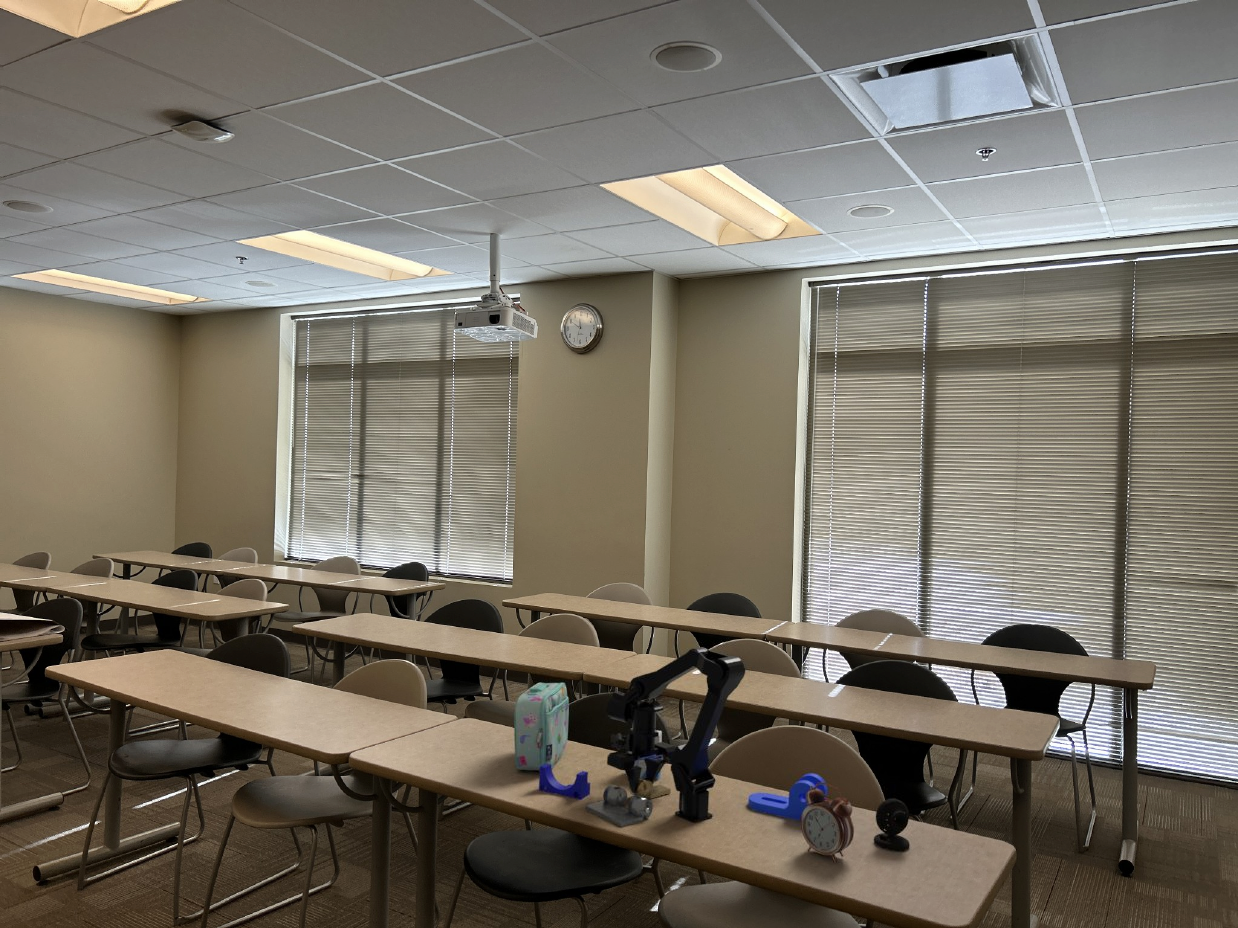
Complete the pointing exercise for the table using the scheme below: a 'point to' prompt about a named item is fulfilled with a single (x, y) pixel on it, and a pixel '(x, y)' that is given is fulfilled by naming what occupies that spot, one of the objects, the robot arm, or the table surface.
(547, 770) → the blue semicircular cradle
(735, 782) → the table surface
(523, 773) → the table surface
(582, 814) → the table surface
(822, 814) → the alarm clock
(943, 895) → the table surface
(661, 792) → the brass hinge knuckle
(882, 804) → the webcam
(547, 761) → the lunch box
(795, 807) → the bracket
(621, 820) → the fixed leaf
